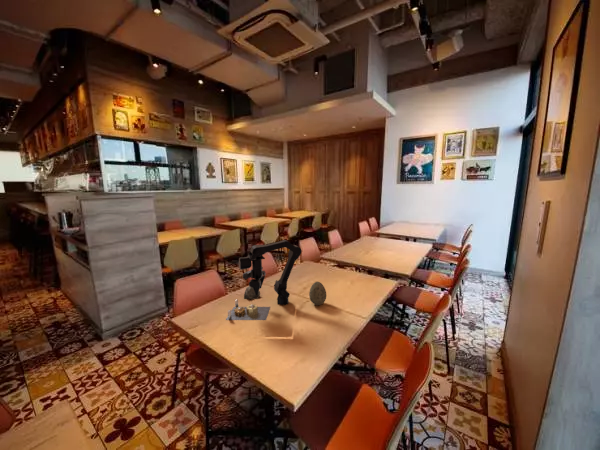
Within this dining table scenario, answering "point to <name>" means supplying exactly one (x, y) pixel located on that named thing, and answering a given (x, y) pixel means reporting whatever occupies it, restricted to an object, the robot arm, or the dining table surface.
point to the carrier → (241, 313)
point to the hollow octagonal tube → (252, 310)
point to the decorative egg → (317, 293)
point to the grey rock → (250, 293)
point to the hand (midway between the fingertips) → (258, 291)
